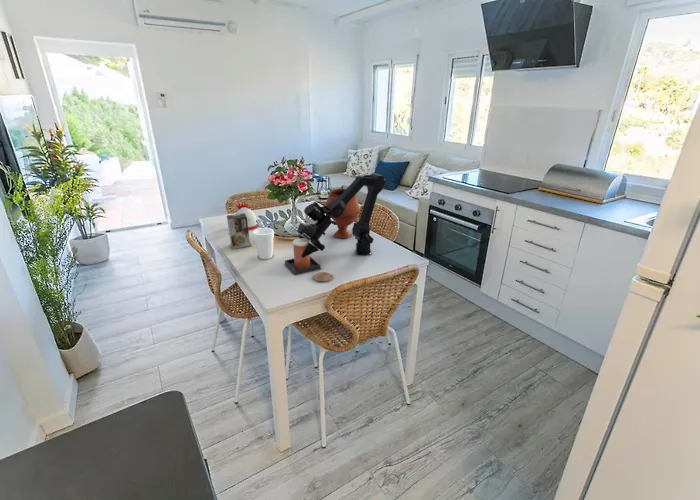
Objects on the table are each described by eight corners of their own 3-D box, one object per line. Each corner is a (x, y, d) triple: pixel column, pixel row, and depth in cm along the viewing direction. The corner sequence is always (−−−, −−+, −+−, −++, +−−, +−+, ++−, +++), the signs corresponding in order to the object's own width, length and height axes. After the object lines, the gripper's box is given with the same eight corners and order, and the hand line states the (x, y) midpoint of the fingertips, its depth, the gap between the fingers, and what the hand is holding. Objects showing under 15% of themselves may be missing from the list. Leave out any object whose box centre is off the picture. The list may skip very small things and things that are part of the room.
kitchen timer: (234, 223, 212) (231, 199, 206) (258, 221, 215) (255, 198, 209) (233, 231, 199) (230, 205, 193) (258, 229, 202) (255, 204, 196)
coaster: (331, 273, 154) (331, 271, 153) (332, 281, 146) (332, 280, 146) (313, 273, 153) (313, 272, 153) (313, 282, 145) (313, 281, 145)
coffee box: (248, 242, 185) (245, 212, 178) (250, 246, 180) (247, 216, 173) (230, 244, 181) (226, 215, 175) (232, 249, 176) (228, 218, 169)
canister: (310, 261, 163) (309, 238, 158) (310, 269, 156) (309, 244, 151) (294, 262, 162) (293, 238, 157) (293, 269, 155) (292, 244, 150)
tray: (309, 258, 167) (309, 255, 166) (320, 268, 157) (320, 265, 156) (284, 264, 161) (284, 260, 160) (294, 274, 152) (294, 271, 151)
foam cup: (265, 262, 163) (263, 236, 157) (251, 257, 167) (248, 232, 162) (279, 255, 170) (277, 230, 165) (265, 251, 174) (263, 226, 169)
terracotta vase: (331, 228, 206) (331, 186, 197) (362, 231, 202) (364, 189, 192) (320, 239, 190) (319, 194, 180) (354, 243, 185) (355, 197, 175)
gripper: (300, 210, 159) (278, 237, 158) (317, 222, 144) (294, 252, 144) (316, 224, 166) (295, 250, 165) (334, 237, 151) (312, 265, 150)
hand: (298, 253), depth 156 cm, fingers closed on canister, 7 cm apart
